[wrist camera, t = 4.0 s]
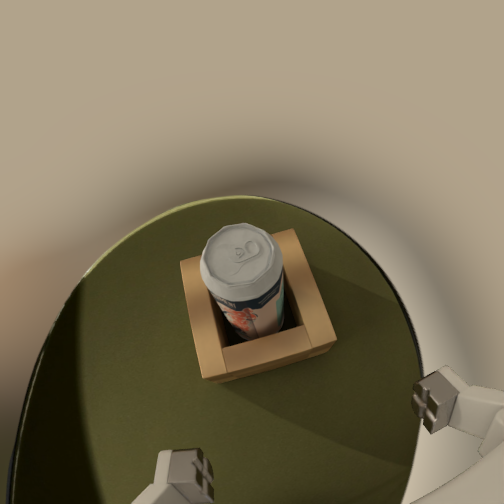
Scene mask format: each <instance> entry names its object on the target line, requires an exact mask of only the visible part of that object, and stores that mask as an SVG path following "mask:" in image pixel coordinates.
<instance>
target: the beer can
mask: <svg viewBox="0 0 504 504" xmlns="http://www.w3.org/2000/svg"><path fill="white" fill-rule="evenodd" d="M200 272H201V276H202V279H203V281H204V283H205V285H206V286H207V288H208V289H209V291H210V292H211V294H212V295H213V297H214V298H215V300H216V302H217V303H218V305H219V306H220V308H221V309H222V311H223V313H224V314H225V316H226V317H227V319H228V320H229V322H230V323H231V325H232V326H233V328H234V329H235V331H236V333H237V334H238V335H239V336H241V337H242V338H244V339H246V340H248V341H251V340H255V339H258V338H262V337H265V336H269V335H272V334H275V333H278V331H279V330H280V329H281V327H282V325H283V321H284V289H283V256H282V252H281V249H280V247H279V245H278V243H277V242H276V241H275V239H274V238H273V237H272V236H271V235H270V234H268V233H267V232H265V231H264V230H262V229H259V228H257V227H254V226H252V225H250V224H247V223H242V224H236V225H230V226H224V227H223V228H222V229H221V230H219V231H218V232H217V233H216V234H214V235H213V236H212V237H211V238H209V239H208V242H207V245H206V247H205V249H204V250H203V254H202V257H201V260H200Z"/></svg>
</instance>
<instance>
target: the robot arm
mask: <svg viewBox="0 0 504 504" xmlns="http://www.w3.org/2000/svg"><path fill="white" fill-rule="evenodd" d="M413 390H414V391H415V393H414V394H413V396H412V400H411V404H412V408H413V411H414V413H415V414H416V415H417V417H419V418H423V419H424V420H423V425H424V426H425V427H426V429H427V430H428V431H429V433H430V434H433V433H435V432H437V431H438V430H440V429H442V428H443V427H445V426H447V425H448V426H450V427H453V428H455V429H458V430H460V431H463V432H466V433H468V434H471V435H473V436H476V437H479V438H482V439H483V441H482V443H481V445H480V447H479V449H478V452H479V454H480V455H481V456H482V459H481V460H479V461H478V462H476V463H475V464H474V465H473V466H471V467H470V468H468V469H467V470H465V471H464V472H463V473H461V474H459V475H458V476H456V477H455V478H453V479H452V480H450V481H449V482H447V483H446V484H444V485H442V486H441V487H439V488H437V489H436V490H434V491H432V492H430V493H429V494H427V495H425V496H423V497H422V498H420V499H418V500H416V501H414V502H412V503H410V504H504V391H503V390H497V389H491V388H487V387H482V386H477V385H472V386H469V385H468V384H467V383H466V382H465V381H464V380H463V379H462V378H461V377H460V376H459V375H458V374H456V373H455V372H454V371H453V370H452V369H451V368H450V367H449V366H444V367H442V368H440V369H438V370H437V371H434V372H432V373H431V374H429V375H427V376H425V377H423V378H421V379H420V380H418V381H416V382H415V383H414V384H413ZM213 480H214V476H213V469H212V466H211V463H210V461H209V460H208V459H207V458H205V457H203V451H202V450H201V449H200V448H192V449H179V450H164V451H160V453H159V455H158V460H157V466H156V472H155V479H154V484H150V485H149V486H148V487H147V488H146V489H145V490H144V491H143V492H142V493H141V494H140V495H139V496H138V497H137V498H136V499H135V500H134V501H133V502H132V503H131V504H204V503H213V502H214V489H213V487H212V486H211V485H210V484H211V482H212V481H213Z"/></svg>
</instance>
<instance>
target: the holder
mask: <svg viewBox="0 0 504 504" xmlns="http://www.w3.org/2000/svg"><path fill="white" fill-rule="evenodd" d="M271 236H272V237H273V238H274V239H275V241H276V242H277V243H278V245H279V247H280V249H281V252H282V256H283V287H284V290H285V293H286V296H287V299H288V302H289V305H290V308H291V311H292V314H293V316H294V319H295V322H296V325H297V327H295V328H292V329H288V330H285V331H282V332H279V333H275V334H272V335H269V336H265V337H262V338H258V339H255V340H251V341H248V342H244V343H240V344H237V345H233V346H230V344H229V341H228V337H227V333H226V329H225V325H224V320H223V316H222V312H221V308H220V306H219V305H218V303H217V302H216V300H215V298H214V297H213V295H212V294H211V292H210V291H209V289H208V288H207V286H206V285H205V283H204V281H203V279H202V276H201V272H200V260H201V257H202V255H201V256H196V257H193V258H189V259H186V260H183V261H180V266H181V272H182V278H183V284H184V290H185V295H186V301H187V306H188V312H189V317H190V322H191V327H192V332H193V337H194V342H195V346H196V351H197V356H198V360H199V364H200V369H201V373H202V377H203V379H206V380H209V381H212V382H215V383H223V382H227V381H231V380H235V379H238V378H243V377H247V376H251V375H255V374H258V373H262V372H265V371H269V370H272V369H276V368H279V367H283V366H286V365H289V364H292V363H295V362H299V361H302V360H305V359H307V358H311V357H314V356H317V355H320V354H323V353H325V352H328V351H329V349H330V348H331V347H332V346H333V344H334V343H335V342H336V340H337V337H336V335H335V332H334V329H333V326H332V324H331V321H330V318H329V316H328V313H327V311H326V308H325V305H324V303H323V300H322V298H321V295H320V292H319V290H318V287H317V285H316V282H315V280H314V277H313V275H312V272H311V270H310V267H309V265H308V262H307V260H306V257H305V255H304V252H303V250H302V248H301V245H300V243H299V240H298V238H297V236H296V233H295V231H294V229H289V230H286V231H282V232H279V233H275V234H272V235H271Z"/></svg>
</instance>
